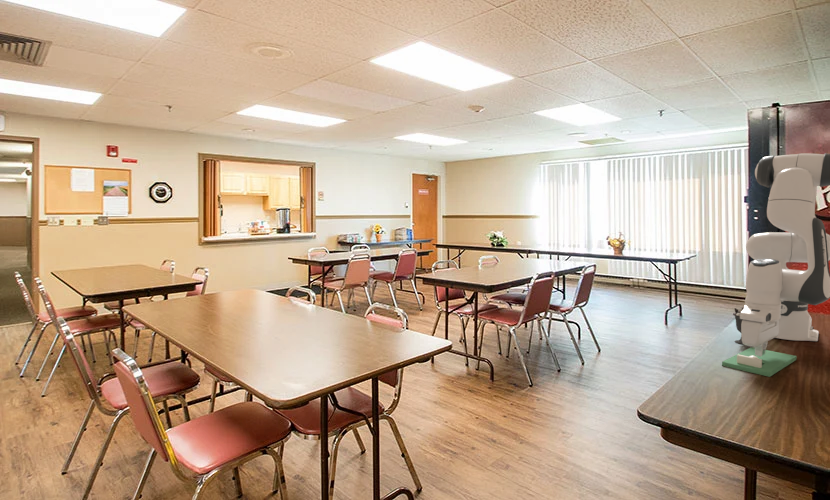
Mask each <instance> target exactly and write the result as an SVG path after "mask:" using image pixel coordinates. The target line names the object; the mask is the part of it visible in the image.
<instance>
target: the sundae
mask: <svg viewBox="0 0 830 500" xmlns="http://www.w3.org/2000/svg"><path fill="white" fill-rule="evenodd" d="M743 309H744V306H742V307H740V308H738V309H737V308H734V309H733V310H734V312H735V313H732V315H733V316H734V319H735V327H736V329H737V331H738V332H739V333H740V334H741V324H742V320H743V319H740V313H741V311H742V310H743ZM734 343H736V344H739V345H744V344H743V342H742V337H741V336H740V338H739V339H738V340H737V339H736V340H734ZM744 346H745V345H744Z"/></svg>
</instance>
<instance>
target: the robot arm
mask: <svg viewBox="0 0 830 500" xmlns="http://www.w3.org/2000/svg"><path fill="white" fill-rule="evenodd" d="M754 176H755V179H756V182H757V183H758V184H759V185H760V186H763V187H766V188H768V189H769V188H770V191H769V196H768V199H767V200H768V201H767V207H766V217H767V219H768V221H769V222H770V224H772V225H773V226H774V227H776V228H777V229H780V230H782V231H783V232H780V231H779V232H776V231H775V232H774V231H773V232H772V231H769V232H759V233H754V234H752V235H751V236H750V237H749V238H748V240H747V241H746V245H745V249H746V252H747V254H748V256H749V257H750V258H751V259H753V260H751V261H750V262H749V264H748V267H747V273H746V279H745V280H746V281H745V289H746V296H745V299H744V306H743V307H744V309H743V310H742V311H741V313H740V319H743V320H742V324H741V333H740V335H741V336H740V338H741V337H742V342H743V344H744V346H748V347H754V348H755V355H756V356H762V355H764V354H765V350H767V346H768V341H771V340H773V339H781V340H788V341H798V342H799V341H802V342H803V341H809V342H818V341H819V333H820V332H819V330H817V329H814V326H812V317H811V315H810V313H809V311H808V310H809V305H810V306H811V305H812V306H817V305H820V304H823V303H825V302H826V301H828V300H829V299H830V266H829V264H830V263H829V261H830V234H828V233H827V232H826V231H827V230H826V228H825V224H824V223H823V221H822V219H819V218H817V216H816V213H815V212H816V201H817V192H818V190H817V189H818V188H817V187H820V188H823V187H829V186H830V153H824V154H821V153H796V154H795V153H794V154H783V155H768V156H764V157H762V158H761V159H760V160H759V161H758V163H757V164H756V167H755V169H754ZM784 231H785V232H784ZM787 263H805V264H806V263H807V269H806V270H799V269H789V267H787ZM743 344H742V345H743Z"/></svg>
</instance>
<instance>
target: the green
mask: <svg viewBox="0 0 830 500" xmlns="http://www.w3.org/2000/svg"><path fill="white" fill-rule="evenodd" d="M749 356H756V355H755V348H754V347H752V346H750V347H749V348H747V349H745V350H743V351H741V352H739V353H737V354H734V355H732V356H730V357H729V358H727V359H725V360H723V361H721V366H723V367H727V368H731V369H735V370H740V371H744V372H747V373H751V374H757V375H760V376H765V377H768V378H770V377H772V376H773V375H775V374H776V373H778V372H779V371H781V370H783V369H785V368H786V367H788V366H790V364H792V363H794V362H795V361H797V355H795V354H794V355H793V354H789V353H783V352H778V351H772V350H768V349H765V354H764V355H762V356H756V357H758V358H759V359H758V358H753V357H749Z"/></svg>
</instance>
